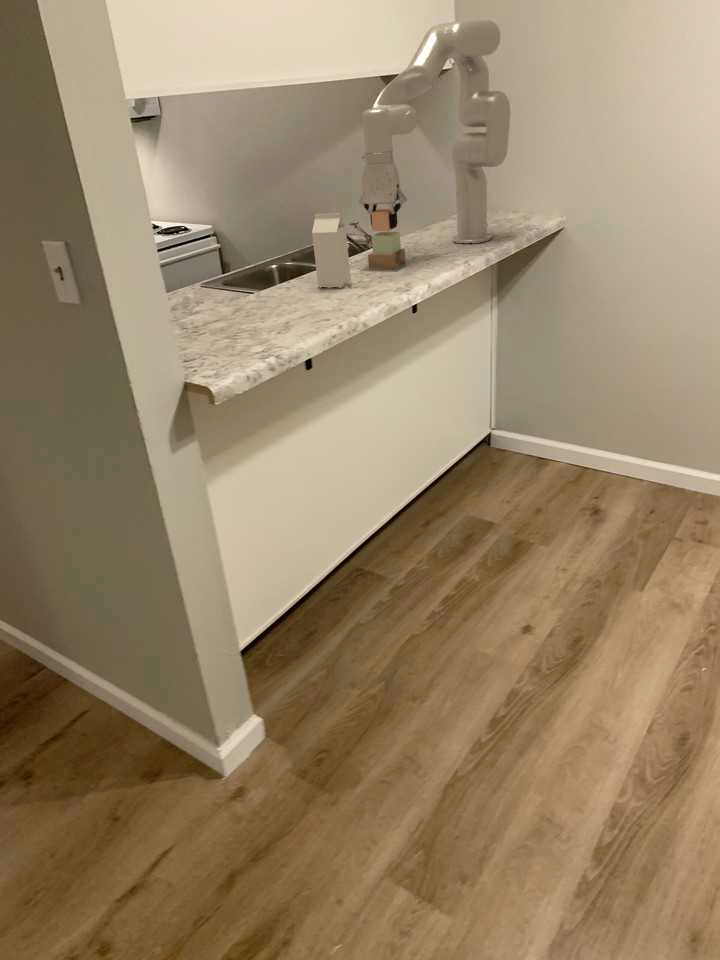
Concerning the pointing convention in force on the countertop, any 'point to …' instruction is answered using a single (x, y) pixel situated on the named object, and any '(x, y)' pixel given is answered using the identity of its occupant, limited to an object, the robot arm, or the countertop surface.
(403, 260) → the walnut brick
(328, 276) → the milk carton
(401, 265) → the build plate
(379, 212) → the terracotta brick
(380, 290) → the countertop surface
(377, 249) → the sage brick
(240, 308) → the countertop surface
